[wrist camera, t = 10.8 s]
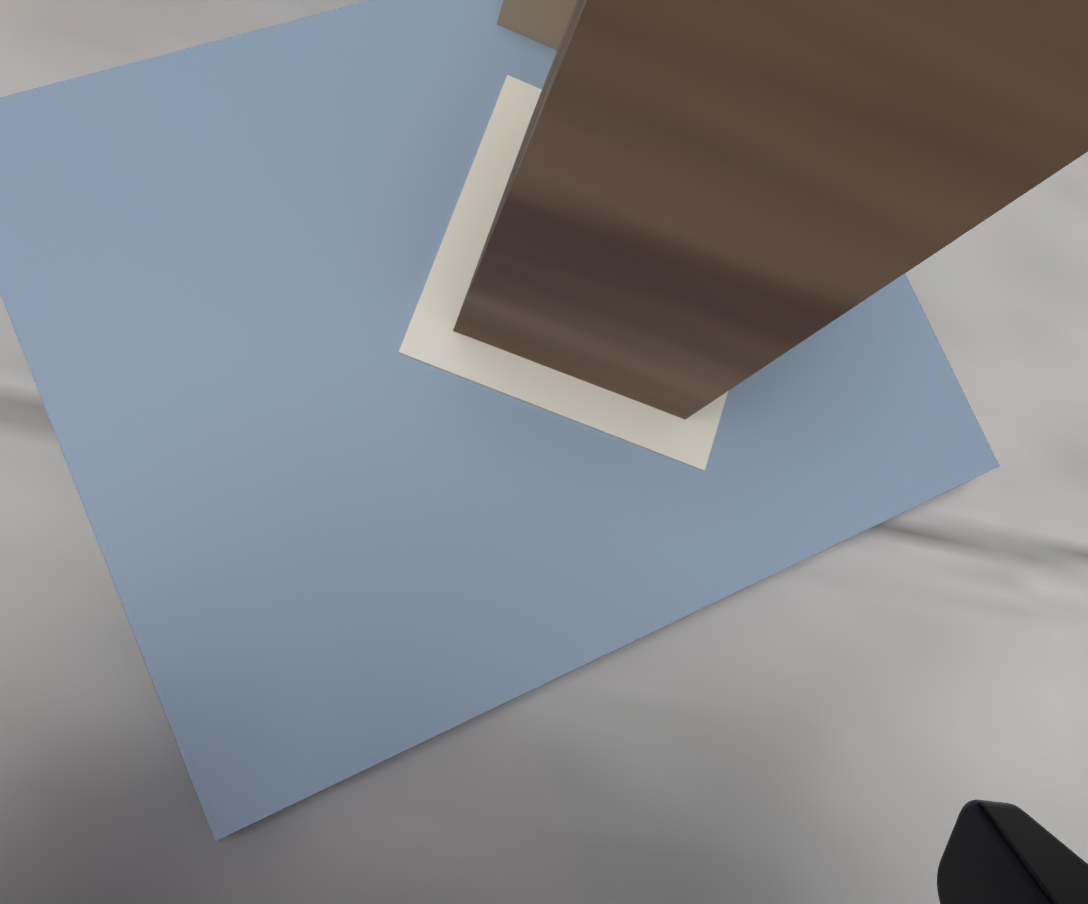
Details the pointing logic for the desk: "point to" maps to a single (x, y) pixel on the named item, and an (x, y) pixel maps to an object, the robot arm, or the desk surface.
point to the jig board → (391, 398)
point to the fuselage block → (760, 174)
